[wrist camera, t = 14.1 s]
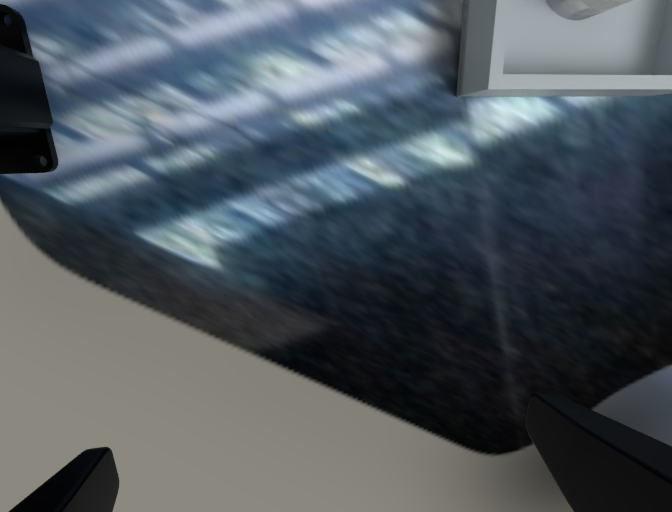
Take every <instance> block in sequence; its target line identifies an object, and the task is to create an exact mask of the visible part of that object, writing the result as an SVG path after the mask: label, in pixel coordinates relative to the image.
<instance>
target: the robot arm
mask: <svg viewBox="0 0 672 512" xmlns="http://www.w3.org/2000/svg"><path fill="white" fill-rule="evenodd" d="M6 15H10V17H11V19H12V23H11V24H10V25H9V26H6V24H5V22H4V17H5V16H6ZM52 123H53V120H52V116H51V112H50V108H49V104H48V99H47V95H46V91H45V87H44V82H43V78H42V74H41V70H40V66H39V63H38V61H37V60H35V59H34V58H33V54H32V50H31V46H30V42H29V38H28V34H27V30H26V25H25V22H24V19H23V17H22V16H21V15H20V13H19V12H17V11H16V10H14V9H12V8H10V7H8V6H6V5H2V4H0V174H15V173H45V172H51V171H54V170H55V169H56V168H57V166H58V158H57V154H56V150H55V146H54V142H53V138H52V133H51V129H50V127H51V125H52ZM41 156H43V157H45V158H46V160H47V165H46V166H44V165H42V164H41V162H40V157H41ZM526 428H527V431H528V434H529V436H530V437H531V439H532V441H533V443H534V444H535V446H536V448H537V449H538V452H539V453H540V455H541V457H542V459H543V460H544V462H545V464H546V466H547V467H548V469H549V471H550V473H551V474H552V476H553V478H554V480H555V481H556V483H557V485H558V487H559V488H560V490H561V492H562V493H563V495H564V497H565V498H566V500H567V502H568V503H569V505H570V506H571V508H572V509H573V511H574V512H672V447H671V446H669V445H667V444H665V443H663V442H661V441H658V440H656V439H654V438H652V437H650V436H647V435H645V434H643V433H641V432H638V431H636V430H634V429H632V428H630V427H627V426H625V425H623V424H621V423H619V422H617V421H614V420H612V419H610V418H608V417H606V416H603V415H601V414H599V413H597V412H595V411H592V410H590V409H588V408H586V407H584V406H581V405H579V404H577V403H575V402H573V401H570V400H568V399H566V398H564V397H562V396H559V395H557V394H555V393H553V392H549V391H545V392H537V393H533V394H532V395H531V396H530V399H529V404H528V410H527V416H526ZM118 489H119V477H118V473H117V469H116V465H115V461H114V457H113V453H112V451H111V449H110V448H108V447H100V448H93V449H87V450H85V451H84V452H82V453H81V454H79V455H78V456H77V457H76V458H74V459H73V460H72V461H71V462H69V463H68V464H67V465H66V466H65V467H63V468H62V469H61V470H60V471H58V472H57V473H56V474H55V475H53V476H52V477H51V478H50V479H48V480H47V481H46V482H45V483H43V484H42V485H41V486H40V487H38V488H37V489H36V490H35V491H34V492H32V493H31V494H30V495H29V496H27V497H26V498H25V499H24V500H22V501H21V502H20V503H19V504H17V505H16V506H15V507H14V508H13V509H11V510H10V511H9V512H112V511H113V507H114V504H115V500H116V497H117V494H118Z"/></svg>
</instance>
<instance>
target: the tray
mask: <svg viewBox="0 0 672 512" xmlns="http://www.w3.org/2000/svg"><path fill="white" fill-rule="evenodd" d="M670 93H672V0H633V1H631V2H628V3H625V4H623V5H620V6H618V7H615V8H612V9H610V10H607V11H605V12H602V13H600V14H597V15H594V16H592V17H589V18H587V19H583V20H568V19H565V18H563V17H561V16H559V15H558V14H556V13H555V12H554V11H553V10H552V9H551V8H550V6H549V5H548V3H547V2H546V0H464V2H463V15H462V28H461V42H460V55H459V68H458V81H457V95H456V97H538V96H652V95H661V94H670Z"/></svg>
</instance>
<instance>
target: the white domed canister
mask: <svg viewBox="0 0 672 512" xmlns="http://www.w3.org/2000/svg"><path fill="white" fill-rule="evenodd" d="M631 1H633V0H546V2H547V3H548V5H549V6H550V8H551V9H552V10H553V11H554V12H555V13H556V14H558V15H559V16H561V17H563V18H565V19H568V20H583V19H587V18H589V17H592V16H594V15H597V14H600V13H602V12H605V11H607V10H610V9H612V8H615V7H618V6H620V5H623V4H625V3H628V2H631Z"/></svg>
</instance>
